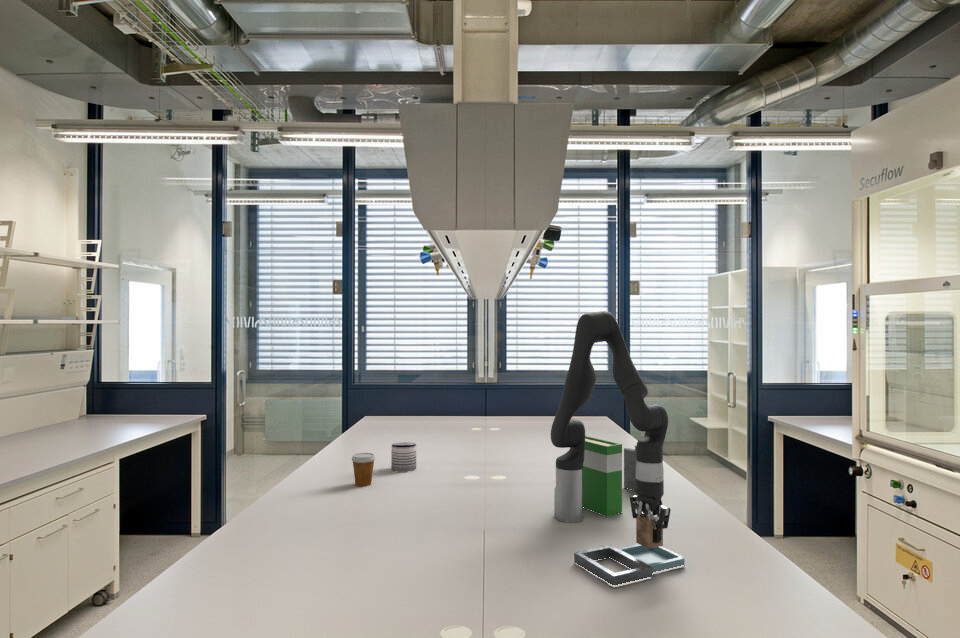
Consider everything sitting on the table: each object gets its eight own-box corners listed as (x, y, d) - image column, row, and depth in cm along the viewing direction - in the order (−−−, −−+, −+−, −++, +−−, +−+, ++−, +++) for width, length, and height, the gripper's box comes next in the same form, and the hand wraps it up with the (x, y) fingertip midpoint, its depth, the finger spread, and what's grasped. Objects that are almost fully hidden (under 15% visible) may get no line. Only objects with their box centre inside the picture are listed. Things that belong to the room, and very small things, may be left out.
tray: (614, 557, 164) (614, 548, 164) (651, 549, 170) (651, 541, 170) (647, 576, 152) (647, 566, 152) (686, 567, 158) (686, 557, 158)
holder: (574, 563, 160) (574, 552, 160) (610, 555, 166) (610, 545, 166) (613, 588, 145) (613, 576, 145) (652, 579, 151) (652, 567, 151)
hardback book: (571, 503, 214) (571, 438, 214) (586, 500, 218) (586, 436, 218) (606, 517, 199) (606, 446, 199) (622, 513, 203) (622, 444, 203)
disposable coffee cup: (372, 487, 234) (372, 457, 234) (348, 487, 234) (349, 457, 234) (377, 481, 243) (377, 452, 243) (354, 481, 243) (354, 452, 244)
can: (386, 471, 260) (386, 444, 260) (397, 465, 271) (397, 439, 271) (410, 473, 257) (410, 445, 257) (420, 467, 268) (420, 441, 268)
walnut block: (636, 542, 162) (636, 517, 162) (650, 539, 164) (650, 514, 165) (648, 548, 158) (648, 522, 158) (662, 545, 160) (662, 520, 160)
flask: (629, 486, 237) (629, 442, 237) (655, 495, 224) (655, 448, 225) (622, 487, 235) (622, 442, 235) (647, 496, 223) (647, 449, 223)
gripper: (621, 472, 166) (621, 533, 166) (657, 485, 153) (657, 550, 153) (642, 470, 169) (642, 529, 169) (678, 482, 156) (679, 545, 156)
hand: (649, 538), depth 161 cm, fingers closed on walnut block, 5 cm apart
